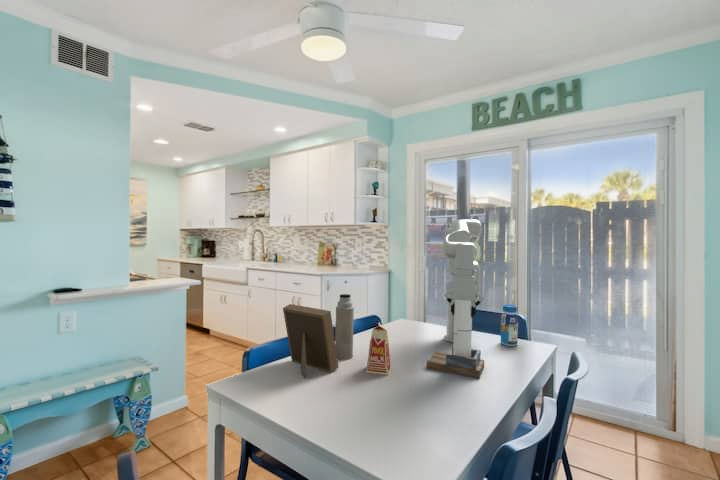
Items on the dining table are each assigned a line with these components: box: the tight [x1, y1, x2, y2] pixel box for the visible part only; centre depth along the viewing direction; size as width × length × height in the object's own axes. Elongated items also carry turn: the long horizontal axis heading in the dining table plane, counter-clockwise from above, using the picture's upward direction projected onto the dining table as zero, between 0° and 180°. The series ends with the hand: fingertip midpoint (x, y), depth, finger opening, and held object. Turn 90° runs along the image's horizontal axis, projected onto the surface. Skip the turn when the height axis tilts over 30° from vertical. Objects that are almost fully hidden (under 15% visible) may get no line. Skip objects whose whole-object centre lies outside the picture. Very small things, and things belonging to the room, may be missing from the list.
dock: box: [426, 346, 485, 379], centre depth 151 cm, size 14×21×7 cm, turn 64°
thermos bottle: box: [334, 293, 355, 361], centre depth 162 cm, size 8×8×28 cm
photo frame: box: [282, 303, 339, 379], centre depth 145 cm, size 15×22×25 cm
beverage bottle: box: [500, 304, 519, 347], centre depth 187 cm, size 8×8×20 cm
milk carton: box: [365, 322, 392, 376], centre depth 147 cm, size 9×9×20 cm
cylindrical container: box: [452, 299, 473, 358], centre depth 150 cm, size 7×7×25 cm
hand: (463, 315), depth 150 cm, fingers closed on cylindrical container, 7 cm apart
